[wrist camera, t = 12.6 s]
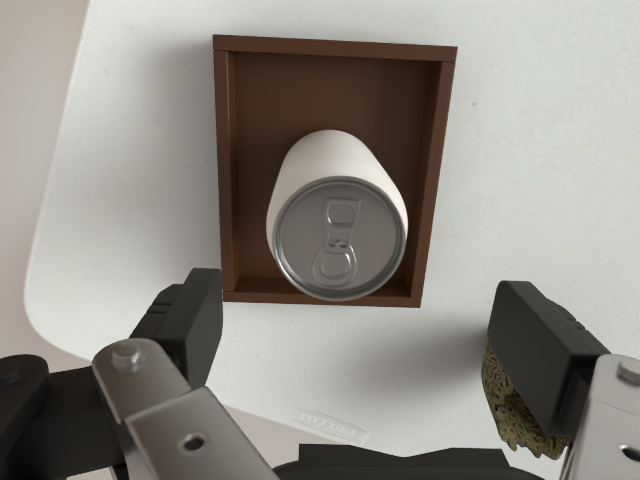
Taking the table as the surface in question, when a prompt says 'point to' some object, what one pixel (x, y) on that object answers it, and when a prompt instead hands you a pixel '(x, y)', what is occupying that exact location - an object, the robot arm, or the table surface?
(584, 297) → the table surface
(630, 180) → the table surface
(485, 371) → the cup
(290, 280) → the can
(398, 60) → the tray
